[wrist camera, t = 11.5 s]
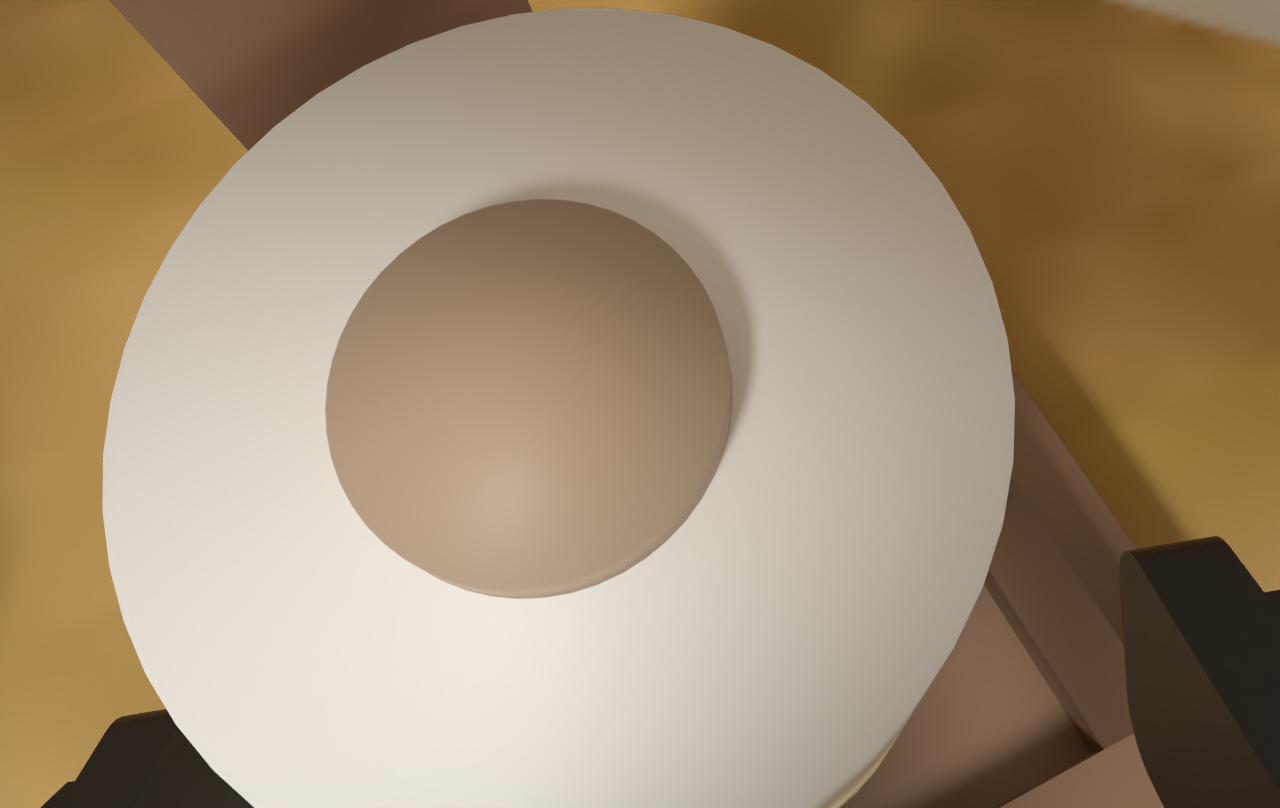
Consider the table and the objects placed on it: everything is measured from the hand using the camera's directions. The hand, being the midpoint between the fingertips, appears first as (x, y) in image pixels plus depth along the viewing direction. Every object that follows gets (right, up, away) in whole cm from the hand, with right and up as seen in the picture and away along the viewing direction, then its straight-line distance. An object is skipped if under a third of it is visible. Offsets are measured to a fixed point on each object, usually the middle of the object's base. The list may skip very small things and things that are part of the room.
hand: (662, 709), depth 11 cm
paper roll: (+1, -1, +8) cm, 8 cm away
